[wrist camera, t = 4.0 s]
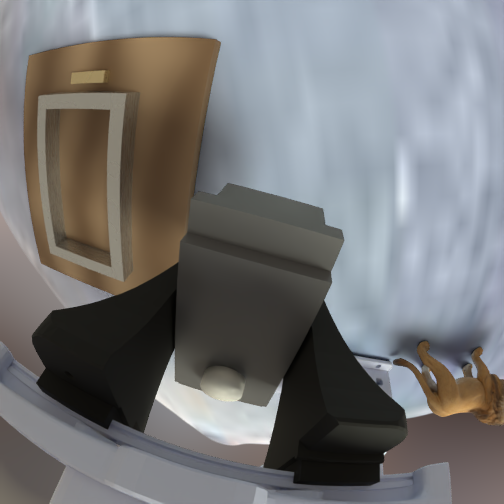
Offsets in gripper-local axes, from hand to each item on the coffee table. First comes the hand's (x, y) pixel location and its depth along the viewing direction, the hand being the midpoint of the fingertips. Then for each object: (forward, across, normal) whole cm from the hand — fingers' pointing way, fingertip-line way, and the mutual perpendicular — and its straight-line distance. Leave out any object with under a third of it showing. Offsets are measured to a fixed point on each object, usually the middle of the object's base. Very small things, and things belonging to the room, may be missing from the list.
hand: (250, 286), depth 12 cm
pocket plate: (+7, +13, 0) cm, 15 cm away
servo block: (+2, 0, 0) cm, 2 cm away
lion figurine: (+7, -22, +8) cm, 24 cm away
